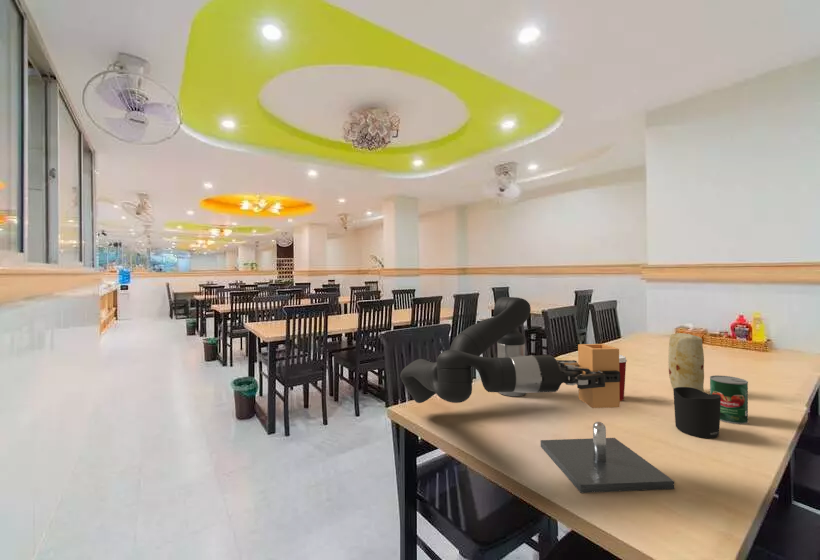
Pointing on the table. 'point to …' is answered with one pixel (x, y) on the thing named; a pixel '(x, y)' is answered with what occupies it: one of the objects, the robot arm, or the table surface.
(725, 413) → the canned tomato
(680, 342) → the food model
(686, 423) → the pen holder
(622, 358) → the paper cup
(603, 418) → the table surface
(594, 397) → the tan rectangular holder
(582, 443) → the shaft stand
